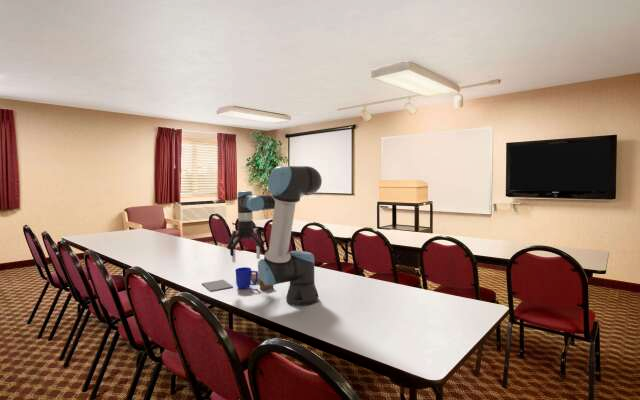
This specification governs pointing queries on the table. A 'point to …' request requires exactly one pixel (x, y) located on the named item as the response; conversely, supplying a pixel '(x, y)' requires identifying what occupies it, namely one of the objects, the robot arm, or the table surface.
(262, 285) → the walnut block
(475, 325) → the table surface
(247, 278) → the mug
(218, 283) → the trivet
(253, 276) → the oak block
